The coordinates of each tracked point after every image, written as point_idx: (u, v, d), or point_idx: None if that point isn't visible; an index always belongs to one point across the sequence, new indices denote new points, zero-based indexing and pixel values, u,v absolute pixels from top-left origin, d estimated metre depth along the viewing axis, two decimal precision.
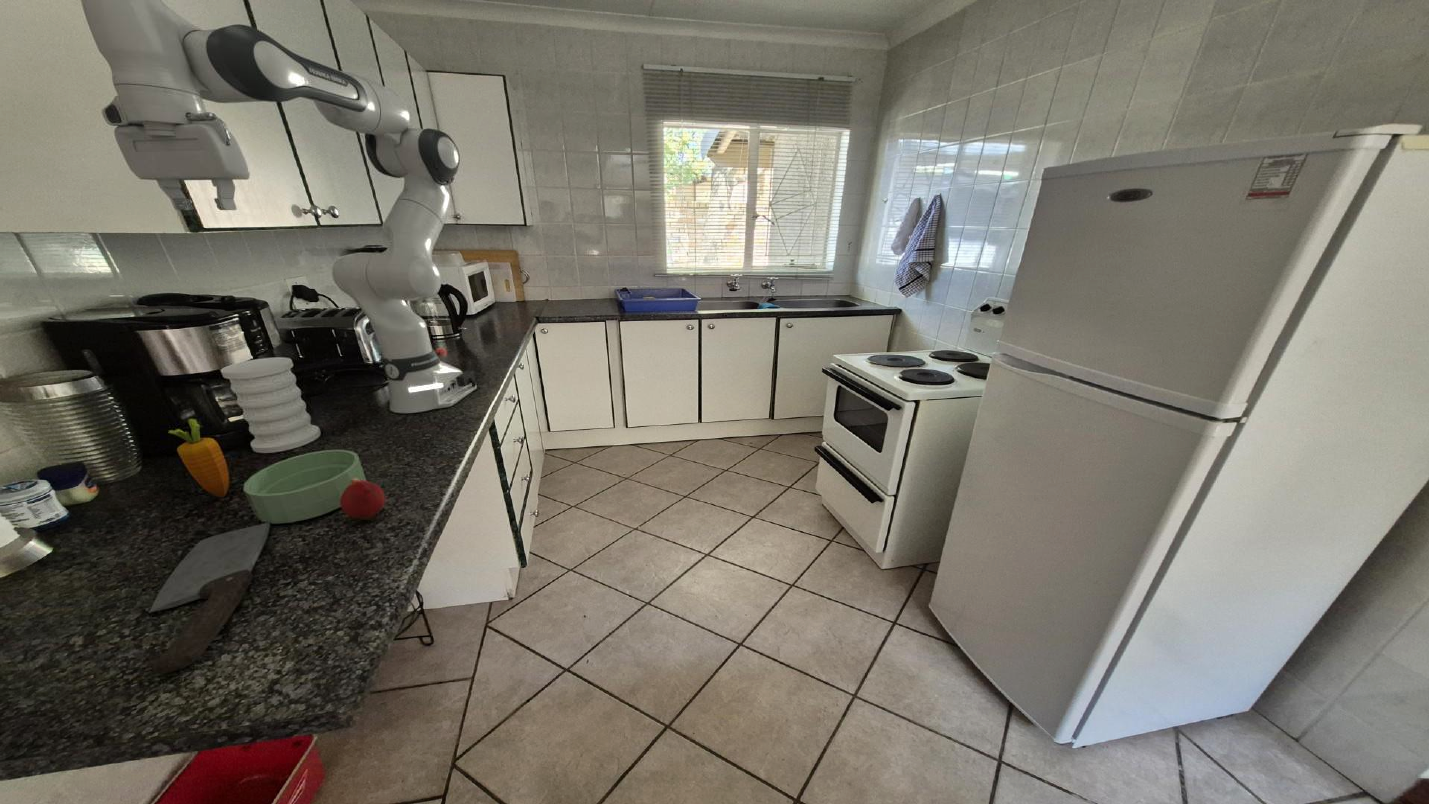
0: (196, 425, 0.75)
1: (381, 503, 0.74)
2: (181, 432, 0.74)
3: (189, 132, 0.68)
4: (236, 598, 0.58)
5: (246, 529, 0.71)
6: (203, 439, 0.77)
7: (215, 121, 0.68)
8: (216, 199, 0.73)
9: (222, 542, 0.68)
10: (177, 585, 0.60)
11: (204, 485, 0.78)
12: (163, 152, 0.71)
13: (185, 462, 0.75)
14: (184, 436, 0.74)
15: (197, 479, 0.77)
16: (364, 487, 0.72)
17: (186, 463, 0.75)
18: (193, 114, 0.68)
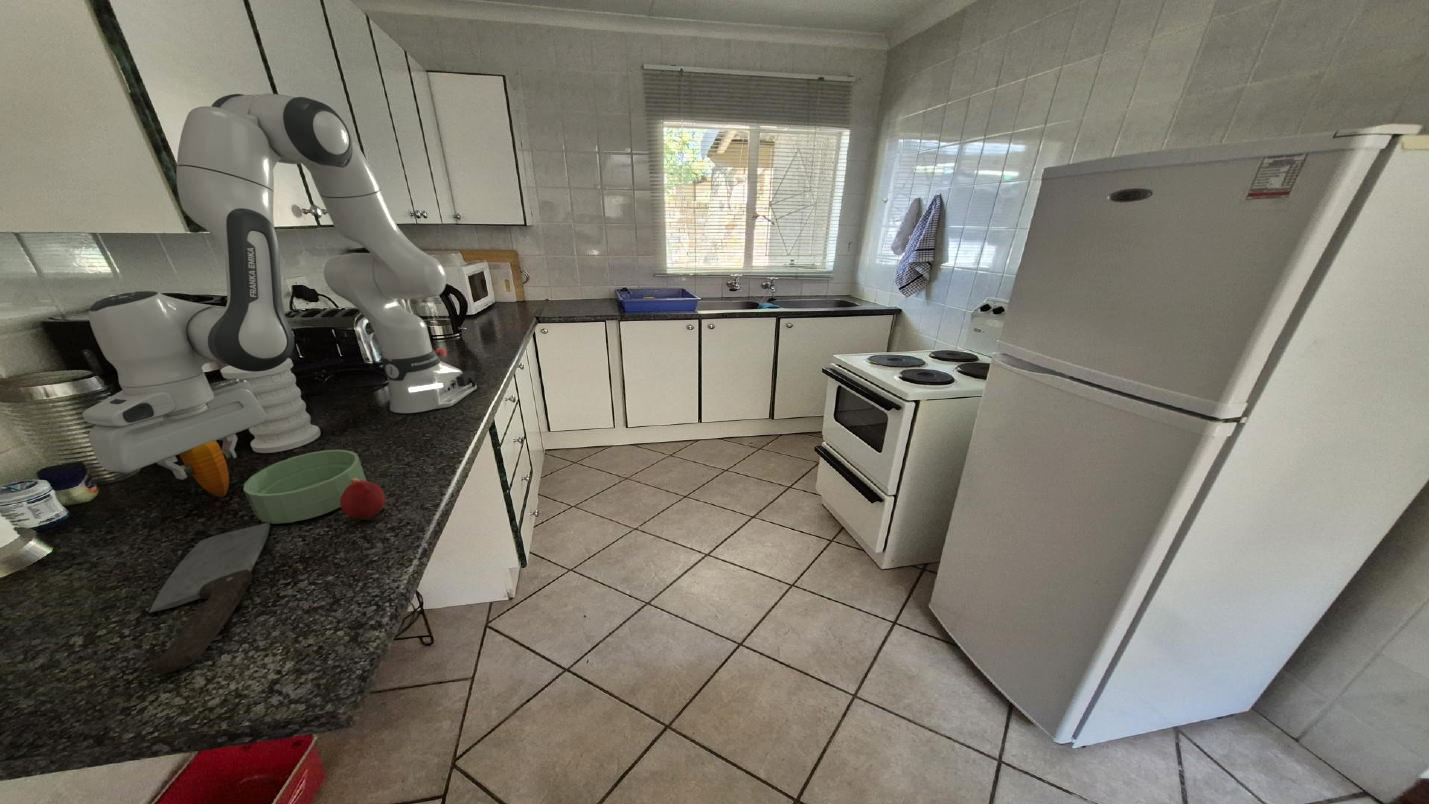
0: None
1: (381, 503, 0.74)
2: None
3: (229, 399, 0.79)
4: (236, 598, 0.58)
5: (246, 529, 0.71)
6: None
7: (244, 383, 0.82)
8: (227, 452, 0.80)
9: (222, 542, 0.68)
10: (177, 585, 0.60)
11: (204, 485, 0.78)
12: (184, 429, 0.73)
13: (185, 462, 0.75)
14: None
15: (197, 479, 0.77)
16: (364, 487, 0.72)
17: (186, 463, 0.75)
18: (217, 384, 0.78)
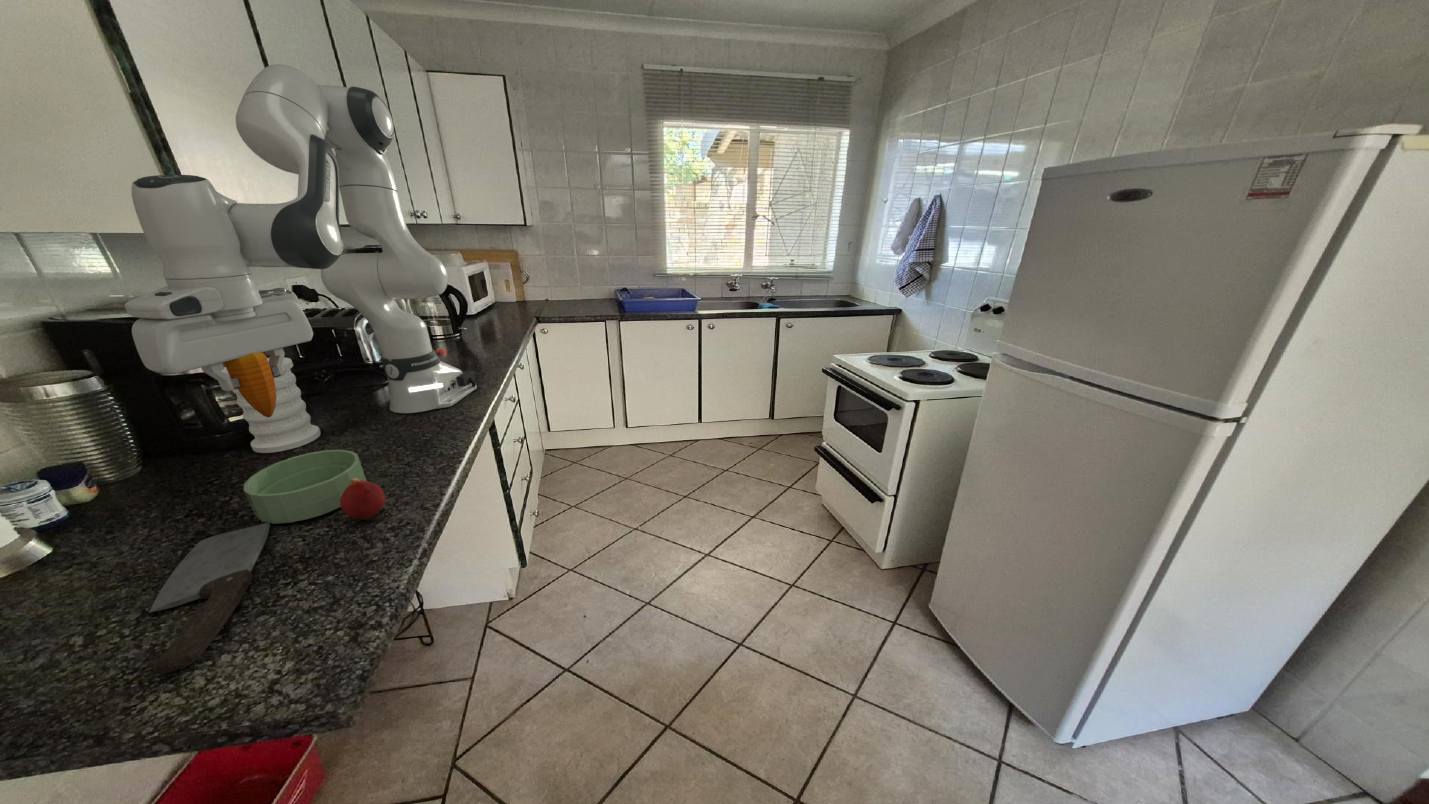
0: None
1: (381, 503, 0.74)
2: None
3: (277, 308, 0.72)
4: (236, 598, 0.58)
5: (246, 529, 0.71)
6: None
7: (291, 294, 0.75)
8: (275, 368, 0.74)
9: (222, 542, 0.68)
10: (177, 585, 0.60)
11: (251, 401, 0.71)
12: (232, 334, 0.67)
13: (232, 372, 0.69)
14: None
15: (244, 393, 0.70)
16: (364, 487, 0.72)
17: (233, 374, 0.69)
18: (265, 292, 0.72)
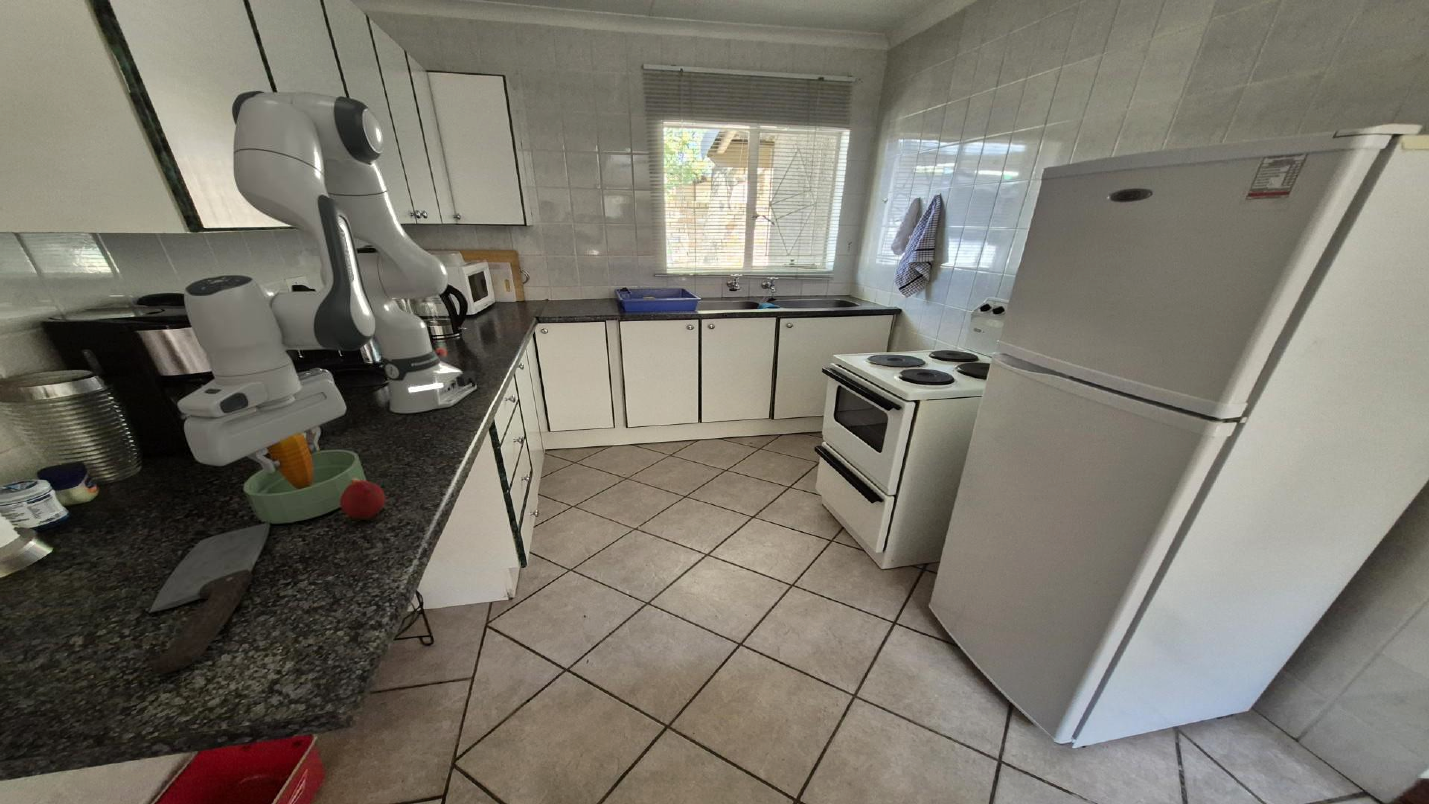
0: None
1: (381, 503, 0.74)
2: None
3: (314, 389, 0.76)
4: (236, 598, 0.58)
5: (246, 529, 0.71)
6: None
7: (326, 373, 0.79)
8: (311, 445, 0.77)
9: (222, 542, 0.68)
10: (177, 585, 0.60)
11: (290, 479, 0.74)
12: (274, 420, 0.70)
13: (273, 455, 0.72)
14: None
15: (284, 473, 0.74)
16: (364, 487, 0.72)
17: (274, 457, 0.72)
18: (303, 374, 0.75)
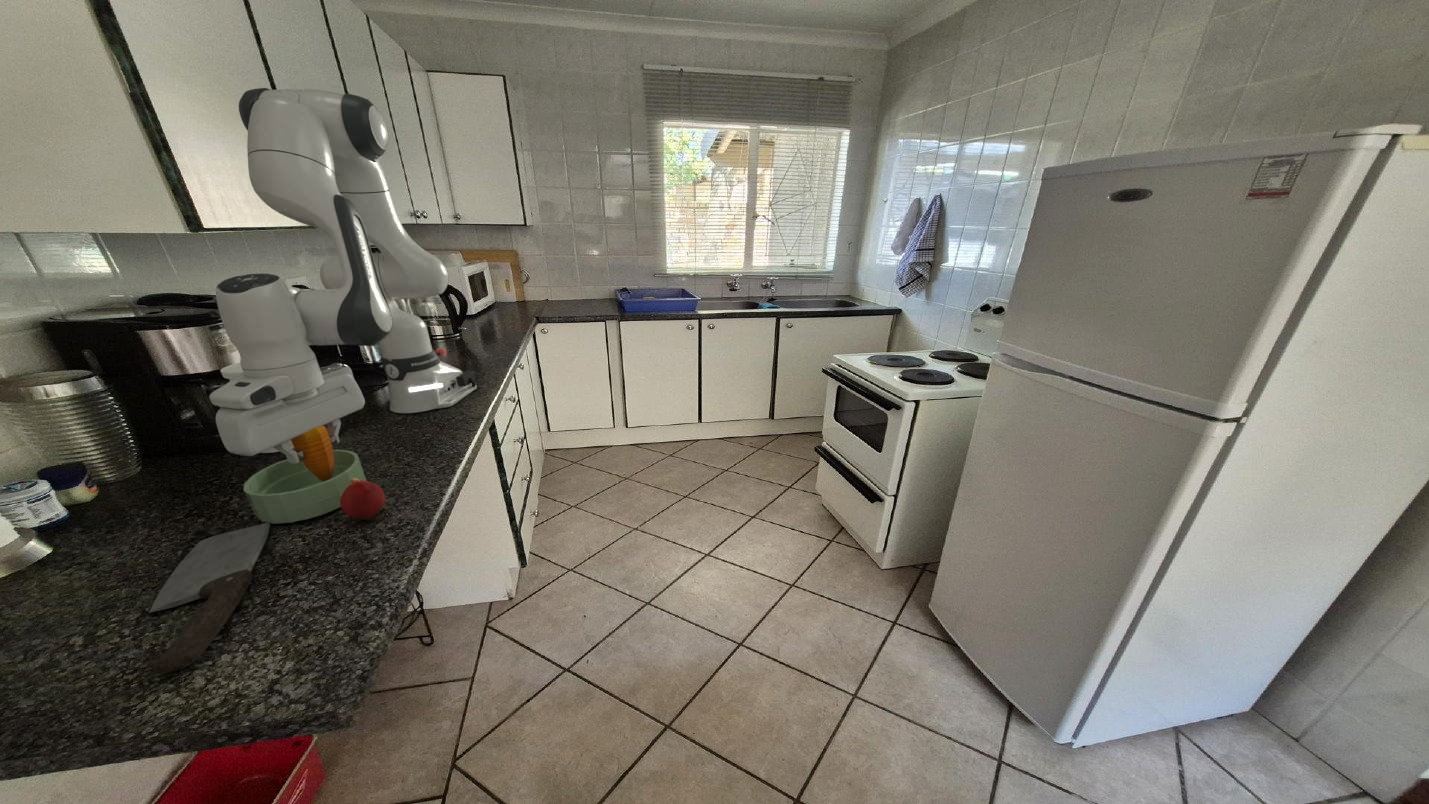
0: None
1: (381, 503, 0.74)
2: None
3: (335, 384, 0.79)
4: (236, 598, 0.58)
5: (246, 529, 0.71)
6: None
7: (346, 368, 0.82)
8: (332, 437, 0.80)
9: (222, 542, 0.68)
10: (177, 585, 0.60)
11: (313, 470, 0.77)
12: (298, 413, 0.73)
13: (297, 446, 0.75)
14: None
15: (307, 463, 0.77)
16: (364, 487, 0.72)
17: (298, 448, 0.75)
18: (324, 369, 0.78)
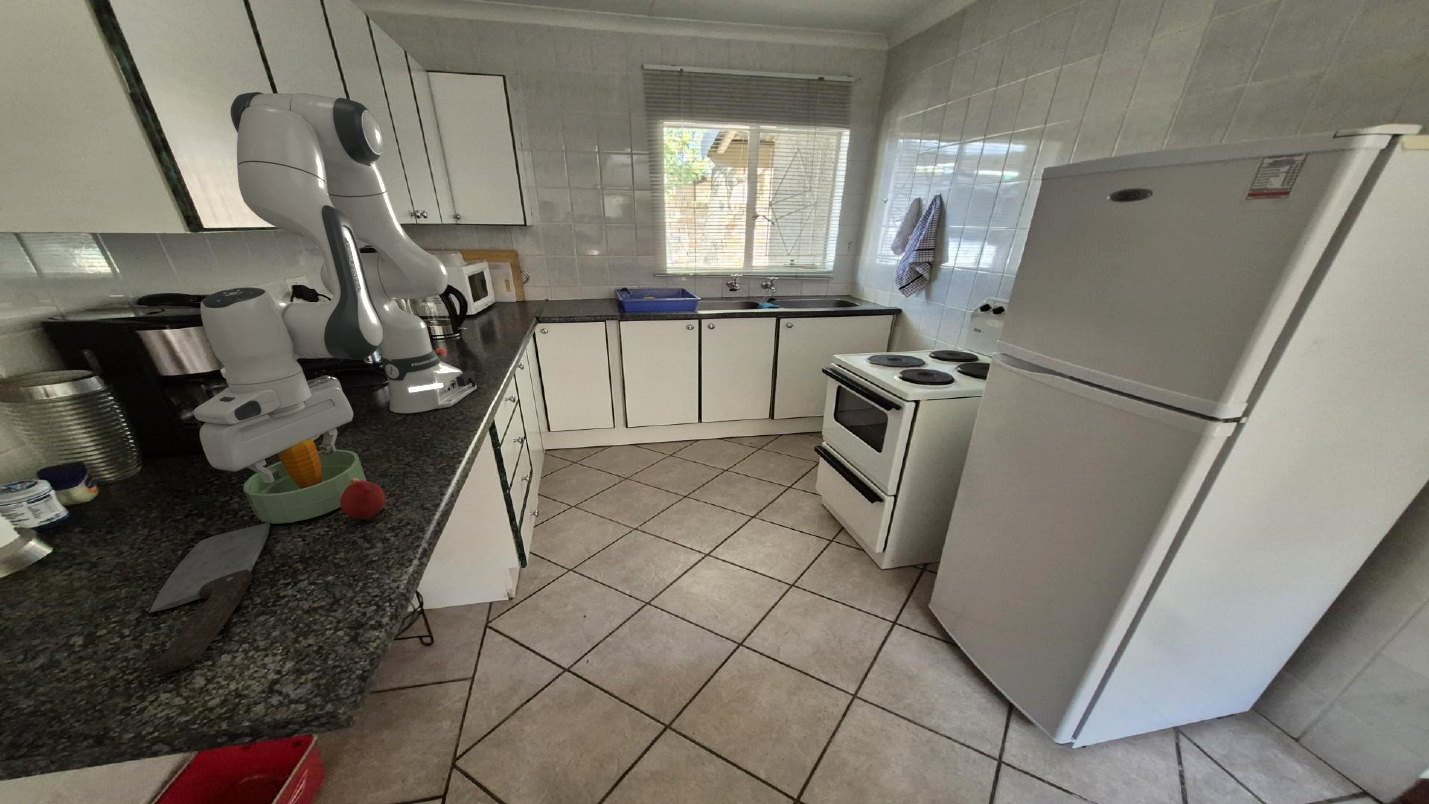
0: None
1: (381, 503, 0.74)
2: None
3: (323, 397, 0.78)
4: (236, 598, 0.58)
5: (246, 529, 0.71)
6: None
7: (334, 380, 0.81)
8: (329, 446, 0.81)
9: (222, 542, 0.68)
10: (177, 585, 0.60)
11: (300, 484, 0.77)
12: (285, 427, 0.73)
13: (284, 461, 0.74)
14: None
15: (294, 478, 0.76)
16: (364, 487, 0.72)
17: (285, 462, 0.75)
18: (312, 382, 0.77)
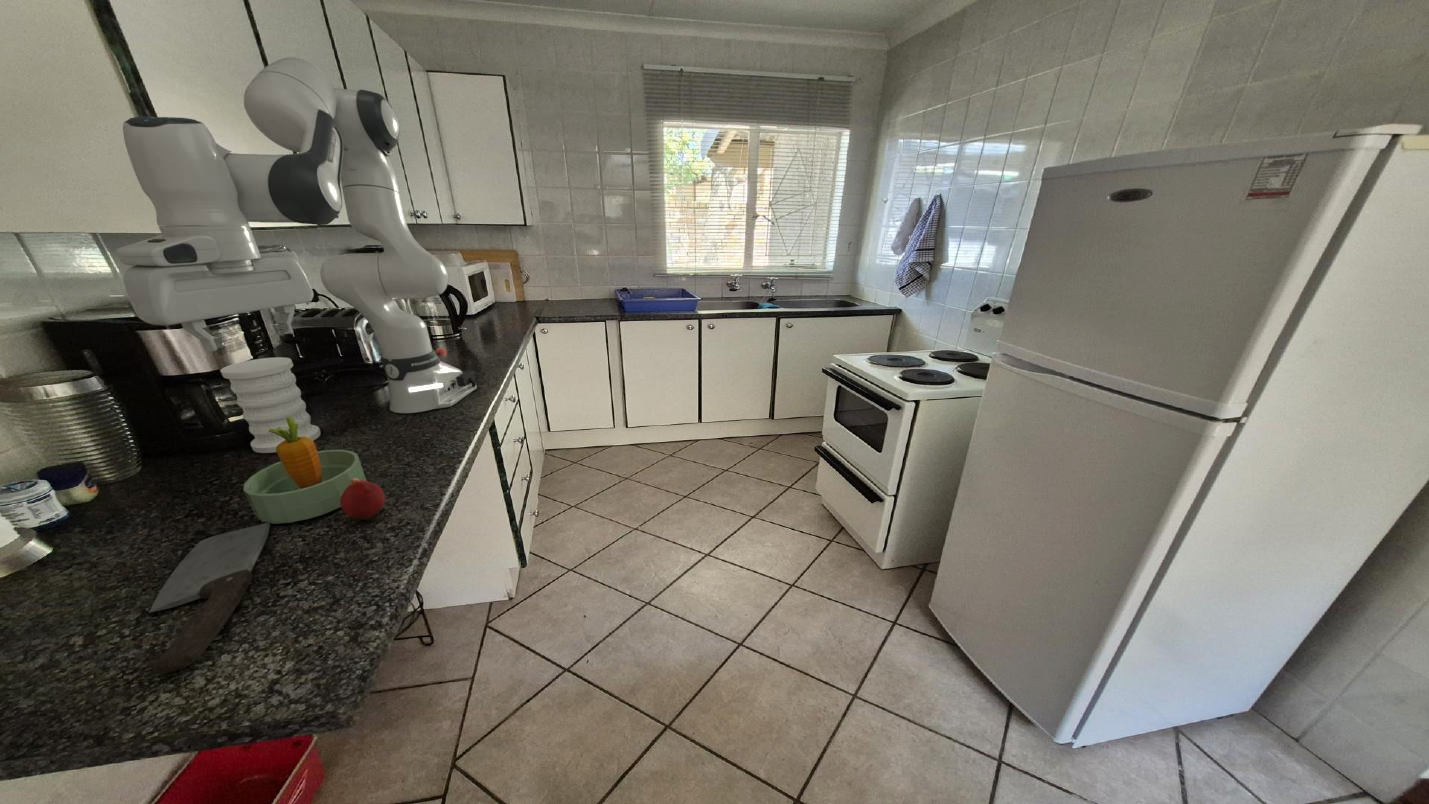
0: (295, 424, 0.75)
1: (381, 503, 0.74)
2: (282, 431, 0.73)
3: (276, 265, 0.70)
4: (236, 598, 0.58)
5: (246, 529, 0.71)
6: (300, 438, 0.76)
7: (290, 252, 0.73)
8: (284, 325, 0.72)
9: (222, 542, 0.68)
10: (177, 585, 0.60)
11: (300, 484, 0.77)
12: (229, 288, 0.64)
13: (284, 461, 0.74)
14: (284, 435, 0.74)
15: (294, 478, 0.76)
16: (364, 487, 0.72)
17: (285, 462, 0.75)
18: (263, 247, 0.69)
